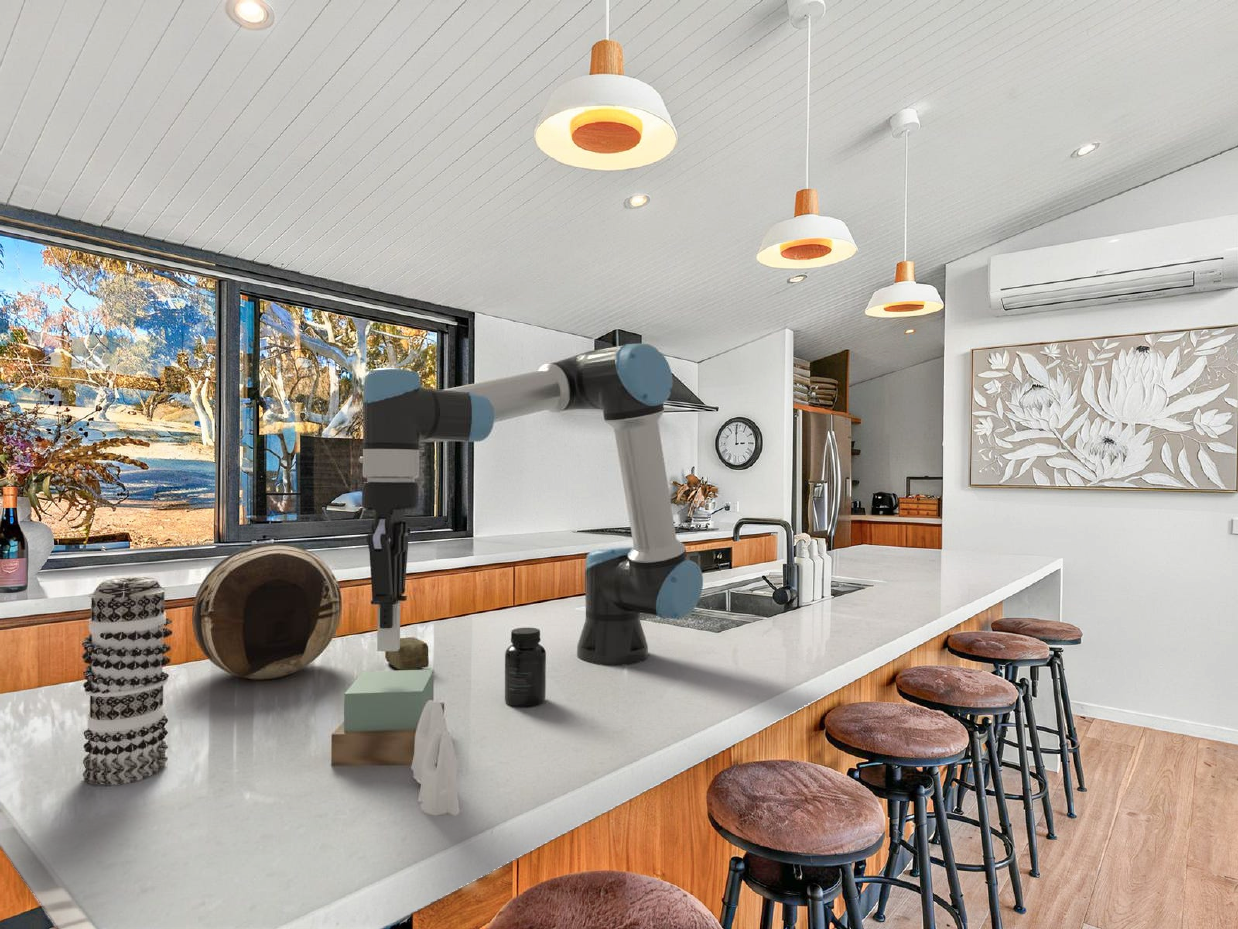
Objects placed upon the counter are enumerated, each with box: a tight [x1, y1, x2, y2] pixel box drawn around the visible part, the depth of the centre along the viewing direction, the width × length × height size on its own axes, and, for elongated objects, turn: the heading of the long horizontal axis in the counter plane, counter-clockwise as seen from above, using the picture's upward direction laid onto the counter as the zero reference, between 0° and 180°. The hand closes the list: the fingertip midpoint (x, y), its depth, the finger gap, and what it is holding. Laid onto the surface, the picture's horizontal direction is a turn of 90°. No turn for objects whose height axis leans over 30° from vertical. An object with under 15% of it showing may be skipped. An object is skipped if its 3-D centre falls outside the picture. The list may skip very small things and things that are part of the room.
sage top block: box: [343, 669, 435, 732], centre depth 96 cm, size 10×10×5 cm
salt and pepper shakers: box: [410, 700, 460, 817], centre depth 82 cm, size 12×4×11 cm, turn 23°
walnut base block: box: [330, 702, 445, 766], centre depth 96 cm, size 12×12×5 cm
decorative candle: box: [81, 576, 173, 787], centre depth 87 cm, size 9×9×25 cm
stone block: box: [384, 636, 430, 670], centre depth 135 cm, size 6×12×5 cm, turn 33°
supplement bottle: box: [504, 627, 547, 709], centre depth 117 cm, size 7×7×12 cm
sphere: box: [191, 542, 343, 680], centre depth 130 cm, size 25×25×25 cm
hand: (388, 649), depth 96 cm, fingers closed
